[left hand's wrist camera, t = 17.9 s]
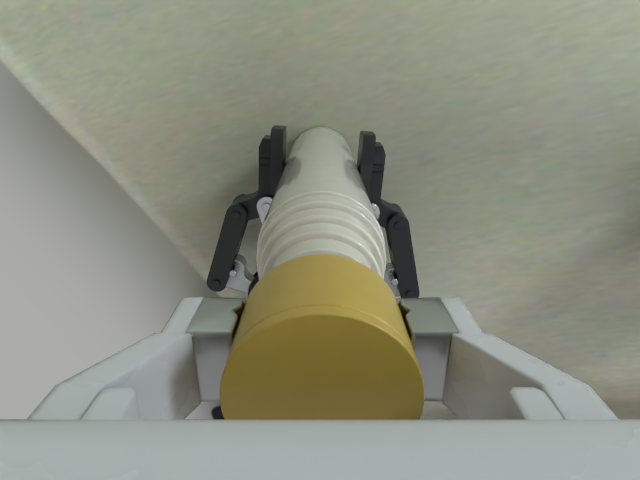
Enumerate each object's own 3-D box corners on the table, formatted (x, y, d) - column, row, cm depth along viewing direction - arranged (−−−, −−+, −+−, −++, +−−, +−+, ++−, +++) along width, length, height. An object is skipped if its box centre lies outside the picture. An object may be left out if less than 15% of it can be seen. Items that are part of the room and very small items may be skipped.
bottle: (304, 116, 29) (258, 248, 7) (361, 142, 30) (477, 337, 8) (280, 173, 31) (181, 425, 9) (335, 197, 31) (370, 487, 9)
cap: (217, 349, 10) (186, 431, 8) (288, 224, 9) (277, 277, 7) (348, 407, 11) (356, 499, 9) (431, 298, 10) (467, 370, 8)
